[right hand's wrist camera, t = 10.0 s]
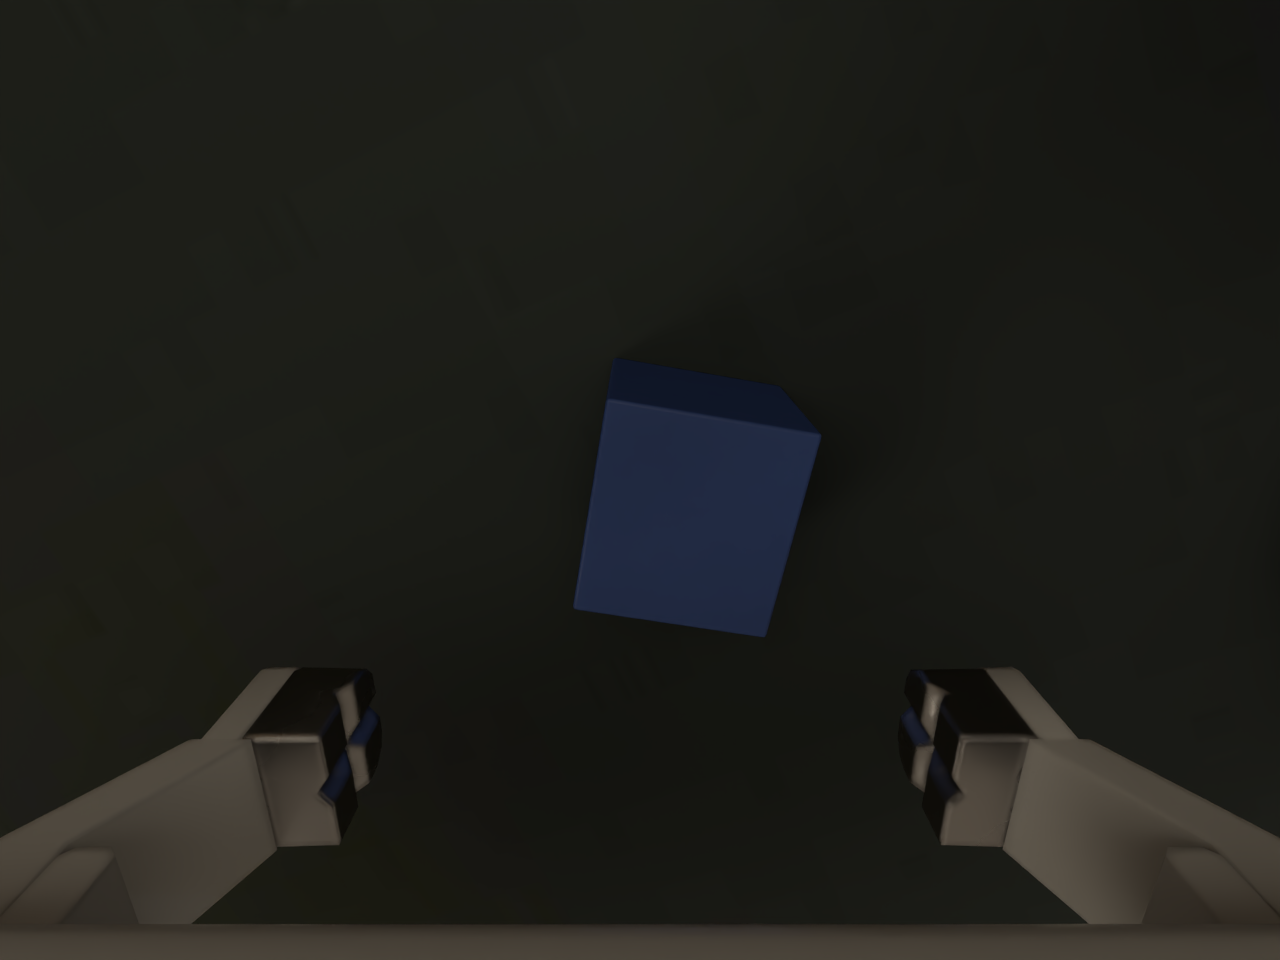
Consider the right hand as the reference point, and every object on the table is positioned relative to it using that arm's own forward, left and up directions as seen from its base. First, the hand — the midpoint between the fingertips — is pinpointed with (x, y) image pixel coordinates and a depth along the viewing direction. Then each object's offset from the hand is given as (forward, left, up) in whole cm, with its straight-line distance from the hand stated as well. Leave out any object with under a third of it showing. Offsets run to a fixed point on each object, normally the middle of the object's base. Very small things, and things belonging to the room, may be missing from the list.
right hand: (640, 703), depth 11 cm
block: (+2, 0, -8) cm, 8 cm away
